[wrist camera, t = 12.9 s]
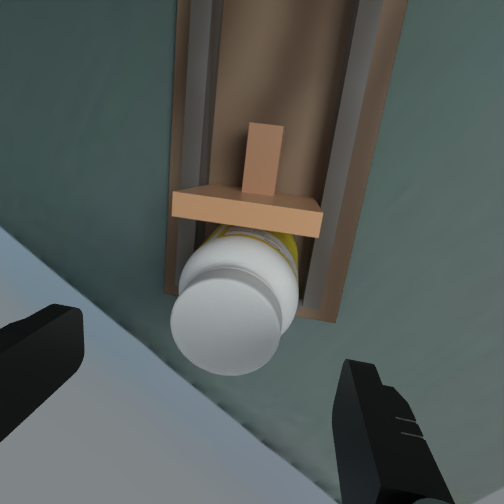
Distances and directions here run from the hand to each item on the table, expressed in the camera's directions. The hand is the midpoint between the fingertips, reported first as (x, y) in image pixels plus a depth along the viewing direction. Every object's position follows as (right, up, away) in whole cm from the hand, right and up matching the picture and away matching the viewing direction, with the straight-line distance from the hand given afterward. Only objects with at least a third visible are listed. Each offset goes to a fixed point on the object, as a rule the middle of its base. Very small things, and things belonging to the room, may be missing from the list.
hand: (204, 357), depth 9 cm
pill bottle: (+2, +3, +14) cm, 15 cm away
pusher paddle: (+2, +9, +12) cm, 15 cm away
